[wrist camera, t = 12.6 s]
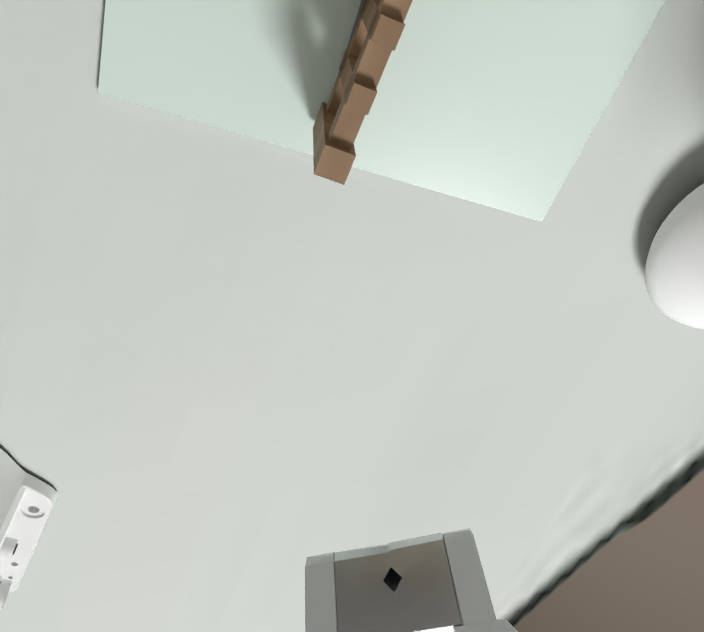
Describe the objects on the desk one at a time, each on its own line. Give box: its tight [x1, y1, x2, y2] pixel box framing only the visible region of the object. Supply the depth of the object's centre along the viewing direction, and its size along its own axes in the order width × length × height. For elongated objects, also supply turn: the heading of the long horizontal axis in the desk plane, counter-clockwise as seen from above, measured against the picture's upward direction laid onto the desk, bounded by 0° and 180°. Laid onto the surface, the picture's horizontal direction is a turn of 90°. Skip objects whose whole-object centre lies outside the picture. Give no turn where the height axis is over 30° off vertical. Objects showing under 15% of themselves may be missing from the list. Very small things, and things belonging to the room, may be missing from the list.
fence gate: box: [313, 0, 413, 185], centre depth 26 cm, size 1×10×6 cm, turn 158°
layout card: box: [98, 0, 665, 222], centre depth 29 cm, size 15×25×1 cm, turn 72°
